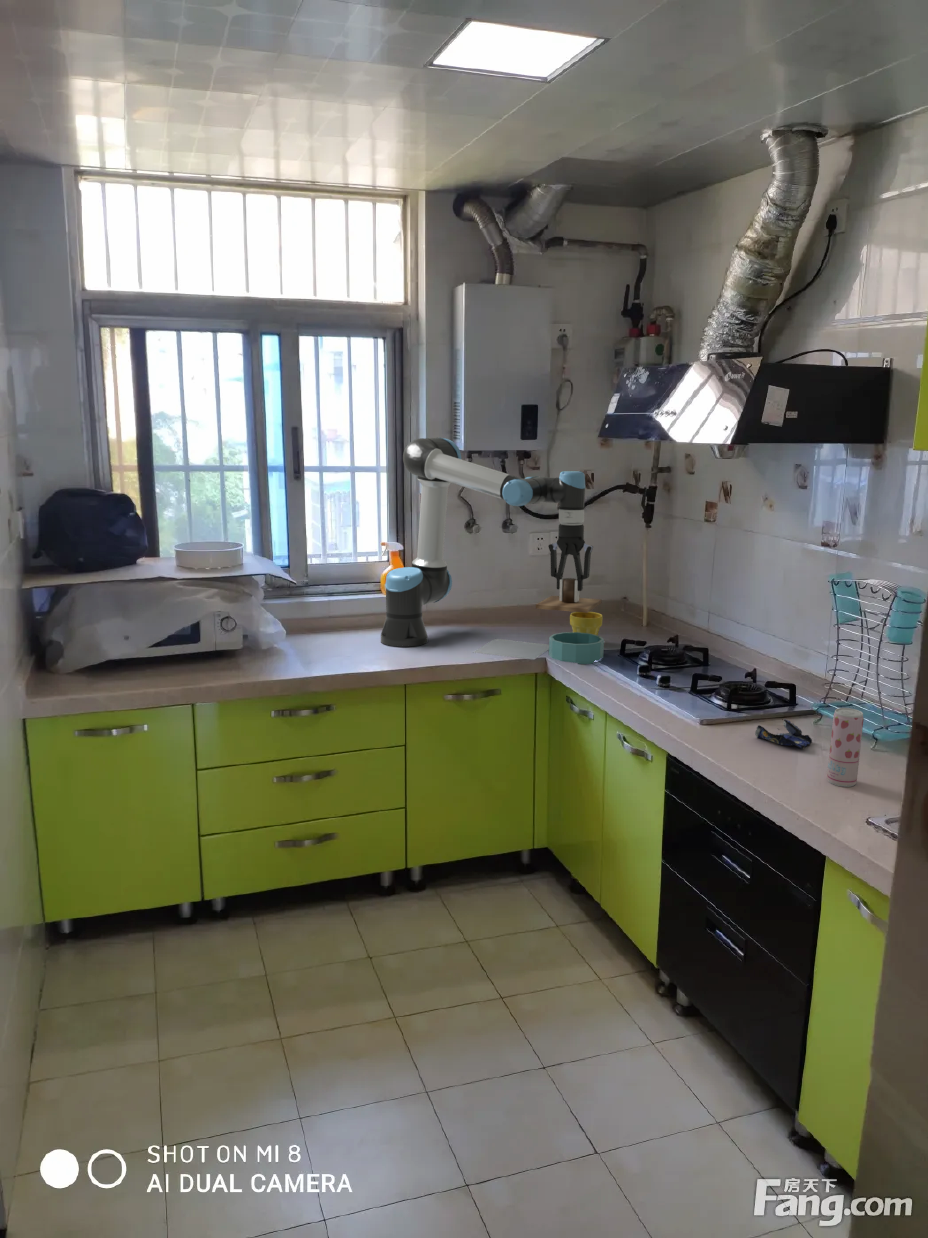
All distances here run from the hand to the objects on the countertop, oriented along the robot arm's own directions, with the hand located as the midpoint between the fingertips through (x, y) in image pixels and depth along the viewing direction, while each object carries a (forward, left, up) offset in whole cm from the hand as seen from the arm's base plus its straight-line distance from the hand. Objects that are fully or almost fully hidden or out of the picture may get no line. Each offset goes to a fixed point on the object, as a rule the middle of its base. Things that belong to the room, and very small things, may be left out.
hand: (569, 600), depth 283 cm
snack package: (+67, -54, -18) cm, 88 cm away
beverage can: (+80, -74, -18) cm, 110 cm away
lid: (0, 0, -2) cm, 2 cm away
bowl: (+3, 0, -17) cm, 18 cm away
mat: (-17, 0, -17) cm, 25 cm away
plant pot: (+1, +18, -18) cm, 25 cm away
